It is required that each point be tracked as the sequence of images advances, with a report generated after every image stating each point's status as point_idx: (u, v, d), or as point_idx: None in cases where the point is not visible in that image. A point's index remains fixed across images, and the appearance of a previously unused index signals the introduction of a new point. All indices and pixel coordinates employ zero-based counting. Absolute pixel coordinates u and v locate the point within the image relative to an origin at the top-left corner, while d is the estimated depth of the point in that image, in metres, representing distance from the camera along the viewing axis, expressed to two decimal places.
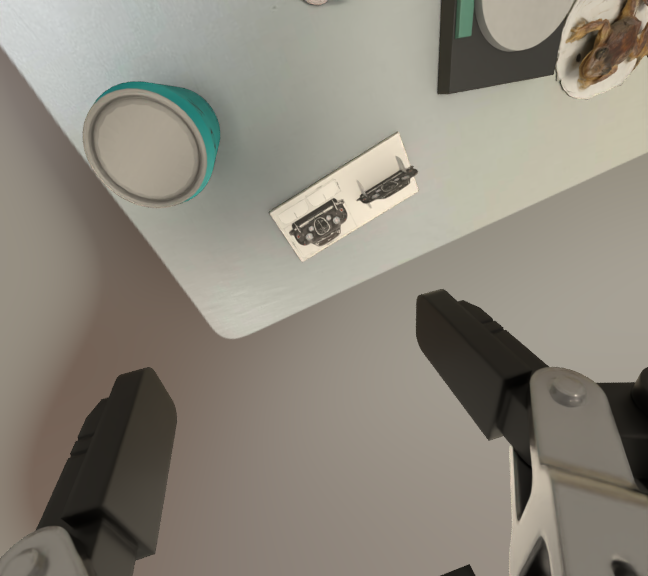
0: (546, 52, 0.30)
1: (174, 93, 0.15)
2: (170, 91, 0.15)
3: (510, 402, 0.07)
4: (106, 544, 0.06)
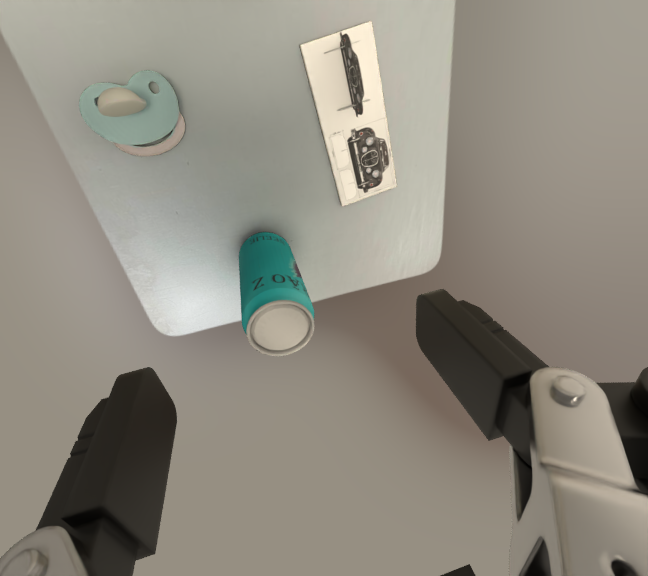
0: None
1: (250, 302, 0.24)
2: (248, 304, 0.24)
3: (510, 402, 0.07)
4: (106, 544, 0.06)
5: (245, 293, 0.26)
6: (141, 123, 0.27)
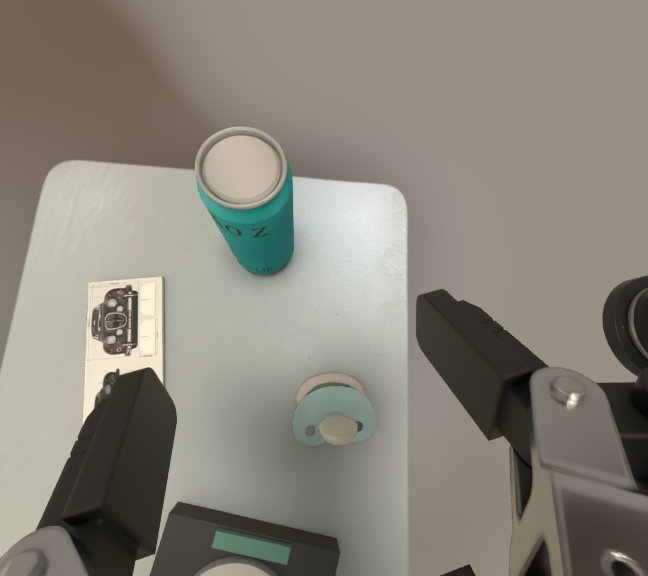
0: None
1: (271, 215, 0.19)
2: (273, 213, 0.19)
3: (510, 402, 0.07)
4: (106, 544, 0.06)
5: (279, 224, 0.21)
6: (333, 403, 0.29)
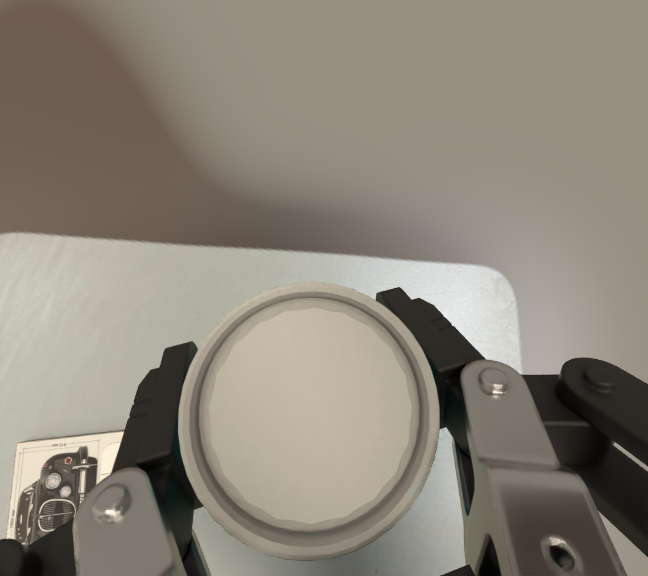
0: None
1: None
2: None
3: (447, 393, 0.07)
4: (173, 488, 0.06)
5: None
6: None
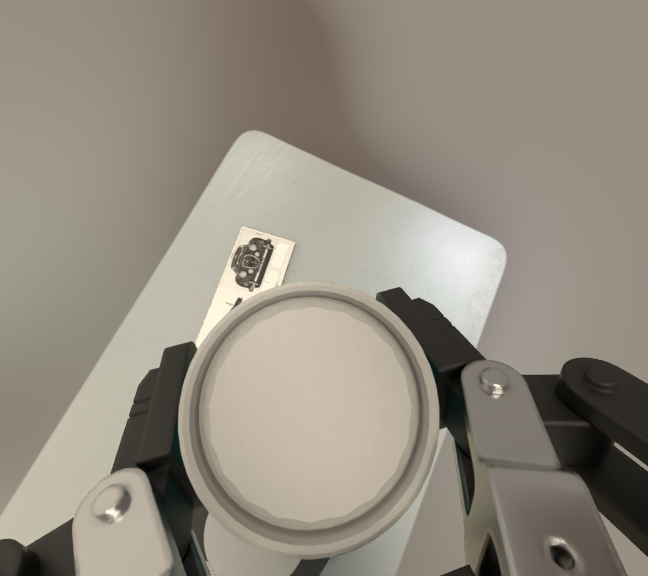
0: None
1: None
2: None
3: (447, 393, 0.07)
4: (173, 488, 0.06)
5: None
6: None
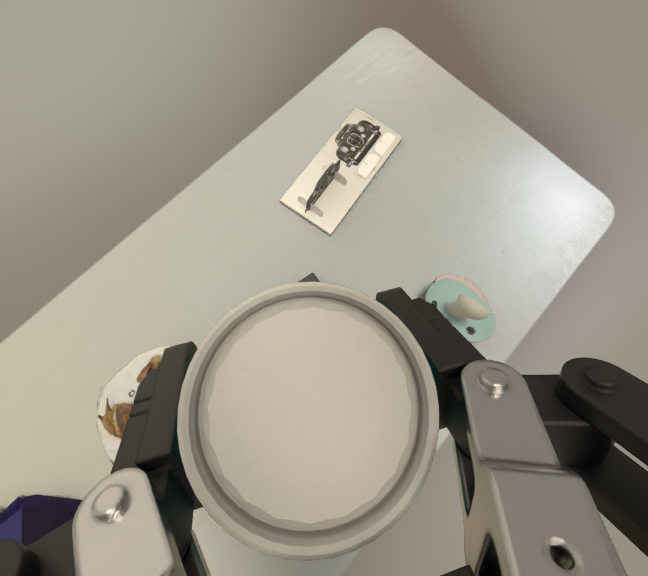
0: None
1: None
2: None
3: (447, 393, 0.07)
4: (173, 488, 0.06)
5: None
6: None
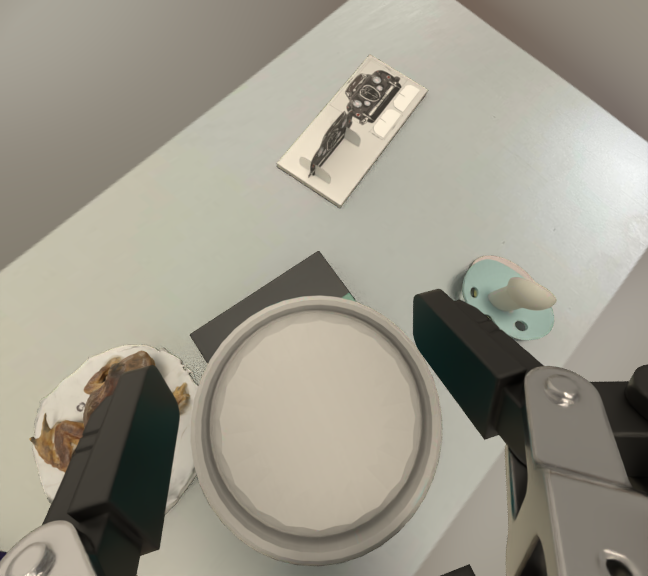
0: None
1: None
2: None
3: (505, 401, 0.07)
4: (112, 539, 0.06)
5: None
6: None
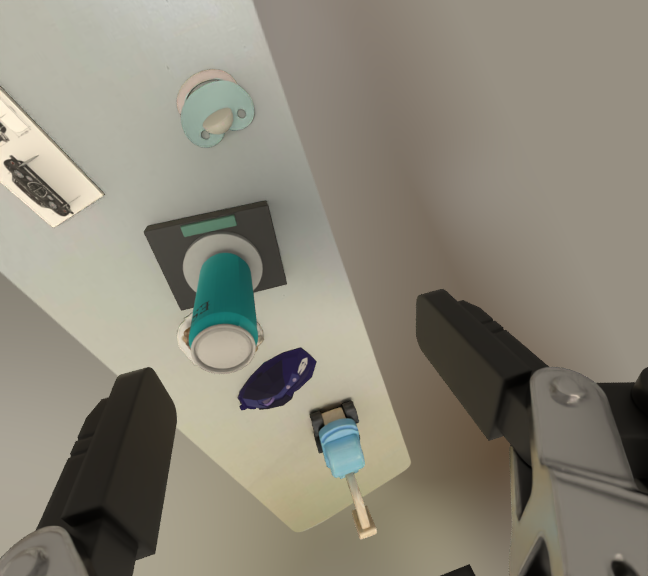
0: (192, 298, 0.41)
1: (256, 331, 0.28)
2: (256, 329, 0.28)
3: (510, 402, 0.07)
4: (106, 544, 0.06)
5: (254, 315, 0.29)
6: (211, 102, 0.32)
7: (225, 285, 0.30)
